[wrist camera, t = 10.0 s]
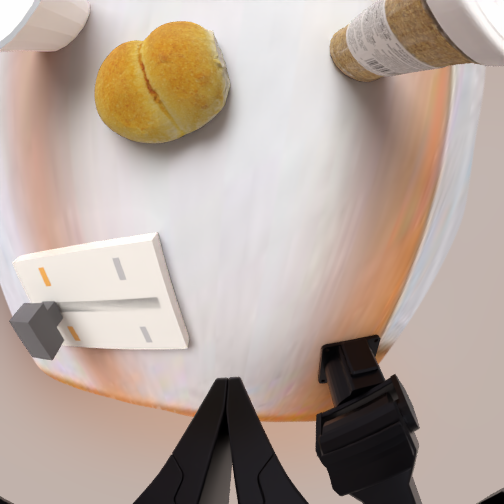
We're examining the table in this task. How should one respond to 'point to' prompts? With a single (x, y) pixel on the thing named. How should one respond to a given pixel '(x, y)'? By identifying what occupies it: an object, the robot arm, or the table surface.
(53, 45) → the white cup
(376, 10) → the sprinkles bottle
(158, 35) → the bread roll
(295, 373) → the table surface
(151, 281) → the fader panel
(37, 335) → the fader knob
